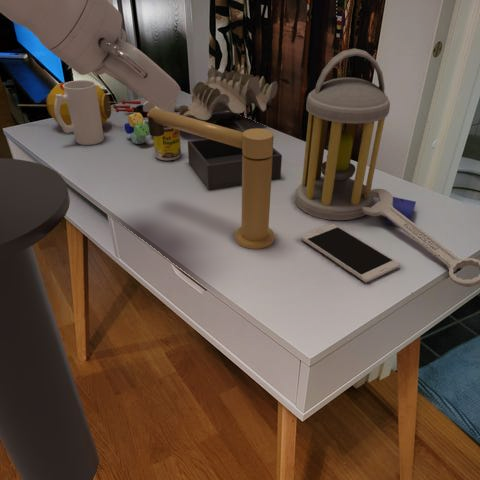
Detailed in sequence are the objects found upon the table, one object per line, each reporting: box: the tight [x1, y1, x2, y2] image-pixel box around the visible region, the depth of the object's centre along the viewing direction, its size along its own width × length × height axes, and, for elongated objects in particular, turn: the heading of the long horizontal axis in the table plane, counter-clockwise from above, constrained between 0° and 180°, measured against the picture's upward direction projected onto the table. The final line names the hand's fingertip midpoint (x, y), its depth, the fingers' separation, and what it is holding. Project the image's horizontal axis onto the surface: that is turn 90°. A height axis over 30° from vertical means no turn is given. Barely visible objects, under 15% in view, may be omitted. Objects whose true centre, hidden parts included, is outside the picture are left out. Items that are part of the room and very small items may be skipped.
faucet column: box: [234, 155, 275, 250], centre depth 75 cm, size 6×6×14 cm
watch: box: [135, 100, 156, 119], centre depth 124 cm, size 8×5×4 cm, turn 108°
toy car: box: [213, 116, 257, 132], centre depth 114 cm, size 6×12×4 cm, turn 37°
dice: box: [123, 112, 150, 145], centre depth 109 cm, size 8×3×6 cm, turn 36°
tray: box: [187, 138, 283, 191], centre depth 98 cm, size 15×13×5 cm
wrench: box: [361, 188, 480, 288], centre depth 77 cm, size 26×6×2 cm, turn 30°
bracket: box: [382, 196, 417, 226], centre depth 85 cm, size 9×5×3 cm, turn 158°
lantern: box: [294, 48, 391, 221], centre depth 81 cm, size 14×14×25 cm
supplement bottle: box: [152, 107, 182, 162], centre depth 102 cm, size 6×6×10 cm
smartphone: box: [300, 223, 401, 283], centre depth 76 cm, size 8×1×15 cm
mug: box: [54, 79, 105, 146], centre depth 107 cm, size 10×7×12 cm, turn 130°
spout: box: [147, 108, 275, 159], centre depth 75 cm, size 24×4×5 cm, turn 53°
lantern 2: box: [17, 81, 142, 127], centre depth 115 cm, size 10×10×30 cm
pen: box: [128, 105, 182, 114], centre depth 126 cm, size 1×16×1 cm, turn 102°
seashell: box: [178, 68, 279, 121], centre depth 117 cm, size 28×18×15 cm, turn 132°
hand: (170, 104), depth 69 cm, fingers closed
